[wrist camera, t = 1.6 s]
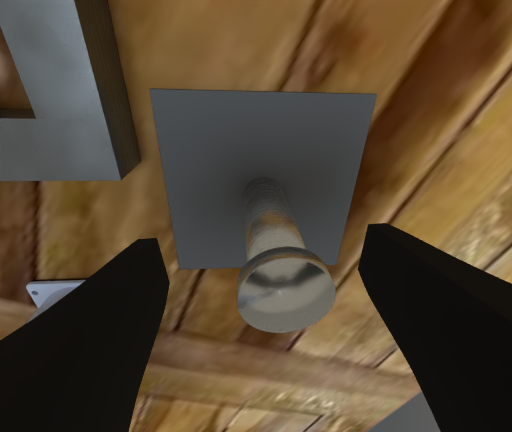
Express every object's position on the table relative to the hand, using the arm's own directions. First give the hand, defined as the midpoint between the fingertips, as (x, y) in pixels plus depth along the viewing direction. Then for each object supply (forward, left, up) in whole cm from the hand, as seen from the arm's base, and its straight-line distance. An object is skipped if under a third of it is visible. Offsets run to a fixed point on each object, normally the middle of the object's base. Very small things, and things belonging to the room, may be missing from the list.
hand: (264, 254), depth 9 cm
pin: (-3, -1, -10) cm, 10 cm away
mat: (-3, -1, -10) cm, 11 cm away
